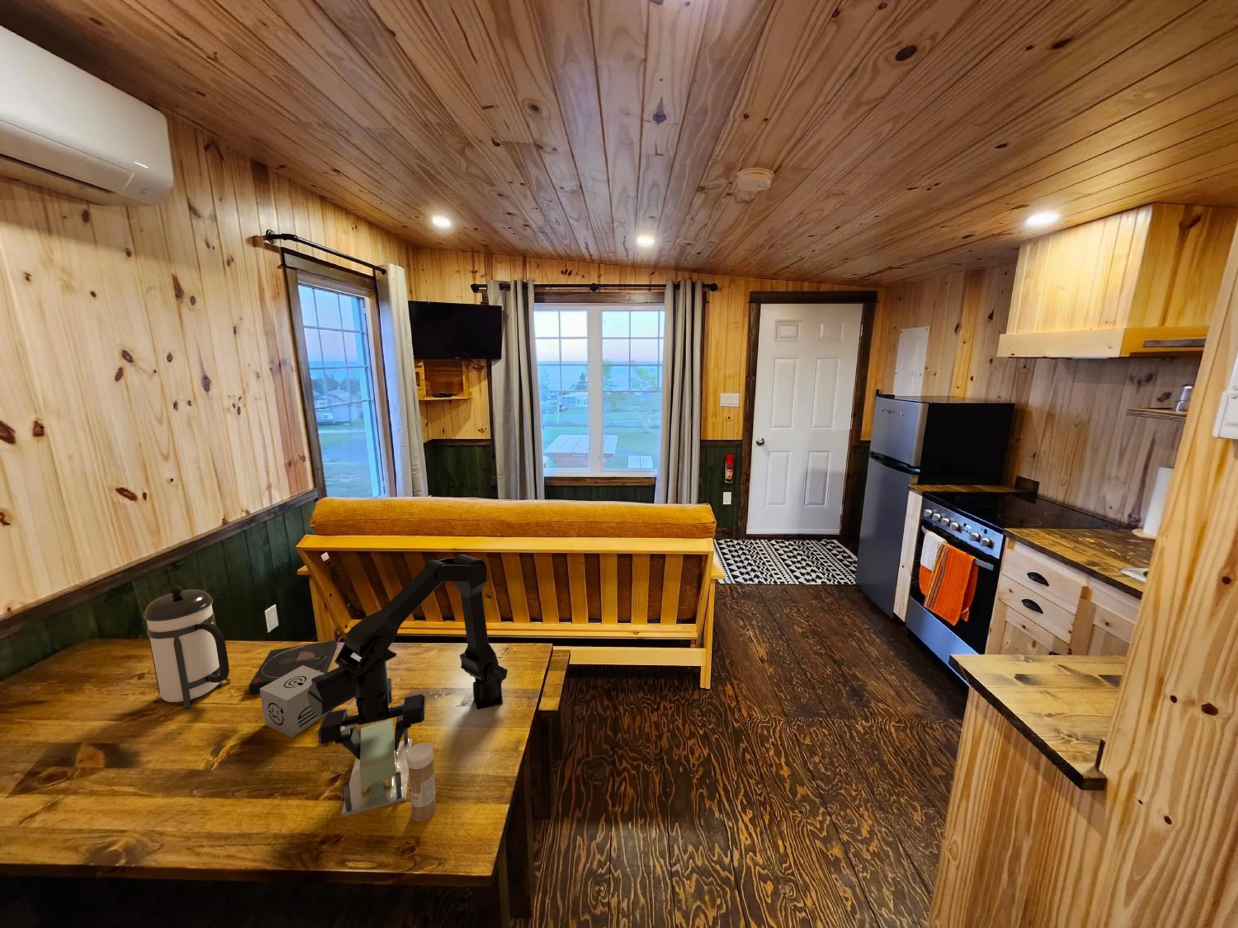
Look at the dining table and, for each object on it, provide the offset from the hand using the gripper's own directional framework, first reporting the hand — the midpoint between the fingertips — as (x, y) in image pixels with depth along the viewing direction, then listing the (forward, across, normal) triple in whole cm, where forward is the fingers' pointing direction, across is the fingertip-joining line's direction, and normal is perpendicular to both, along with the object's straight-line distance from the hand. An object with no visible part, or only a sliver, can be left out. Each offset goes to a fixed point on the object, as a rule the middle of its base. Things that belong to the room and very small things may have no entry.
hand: (378, 753), depth 96 cm
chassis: (+6, 0, 0) cm, 6 cm away
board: (+1, 0, 0) cm, 1 cm away
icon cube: (+6, +21, -25) cm, 33 cm away
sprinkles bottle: (+6, -9, +12) cm, 16 cm away
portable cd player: (+6, +27, -47) cm, 55 cm away
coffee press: (+6, +48, -44) cm, 66 cm away
